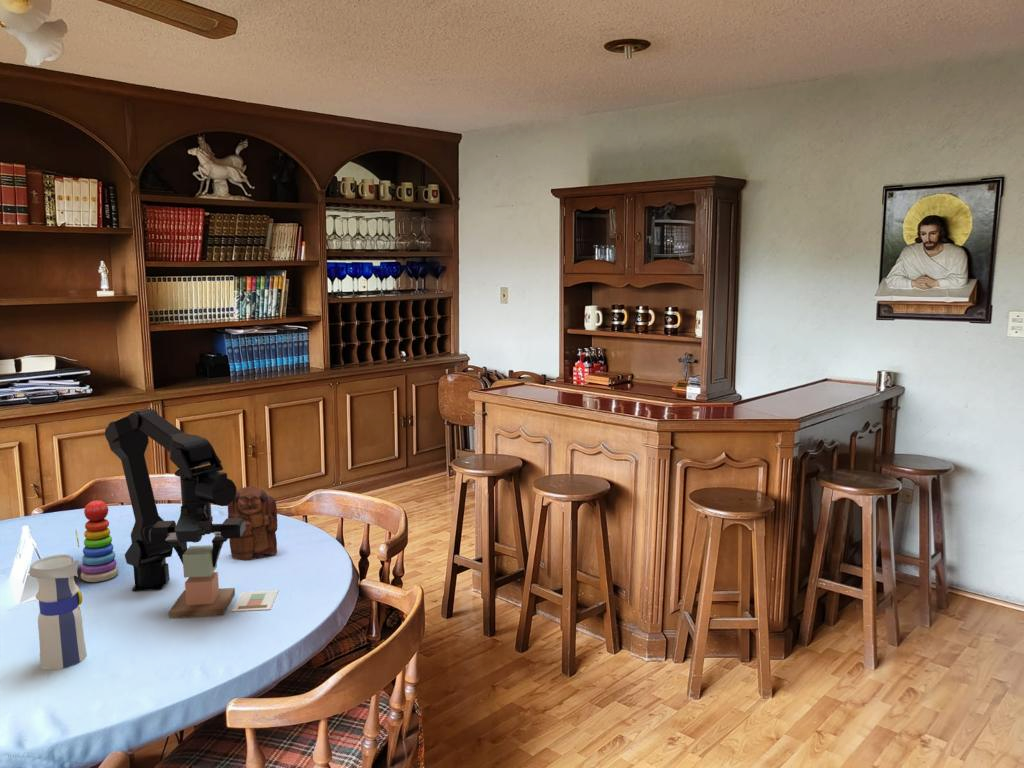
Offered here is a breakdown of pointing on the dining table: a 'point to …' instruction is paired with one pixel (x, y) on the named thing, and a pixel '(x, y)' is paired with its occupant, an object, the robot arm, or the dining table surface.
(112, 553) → the stacking toy
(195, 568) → the sage block
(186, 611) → the walnut plate
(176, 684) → the dining table surface
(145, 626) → the dining table surface
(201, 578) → the terracotta block
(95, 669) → the dining table surface
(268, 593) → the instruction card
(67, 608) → the beige and blue vase
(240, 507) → the wooden figurine
